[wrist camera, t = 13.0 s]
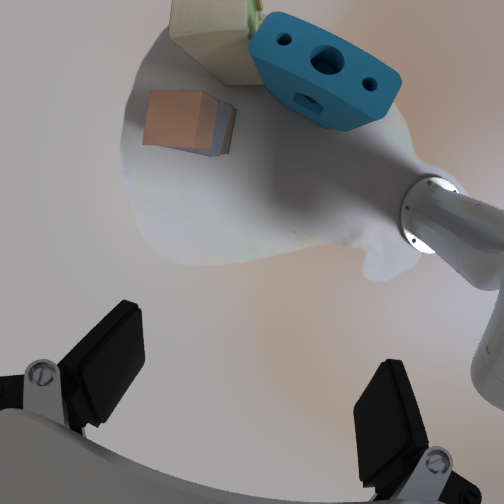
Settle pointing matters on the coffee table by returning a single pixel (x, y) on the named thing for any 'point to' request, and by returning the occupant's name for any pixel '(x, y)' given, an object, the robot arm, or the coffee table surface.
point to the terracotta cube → (180, 119)
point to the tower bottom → (228, 132)
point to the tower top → (218, 133)
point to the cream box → (218, 36)
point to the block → (321, 73)
